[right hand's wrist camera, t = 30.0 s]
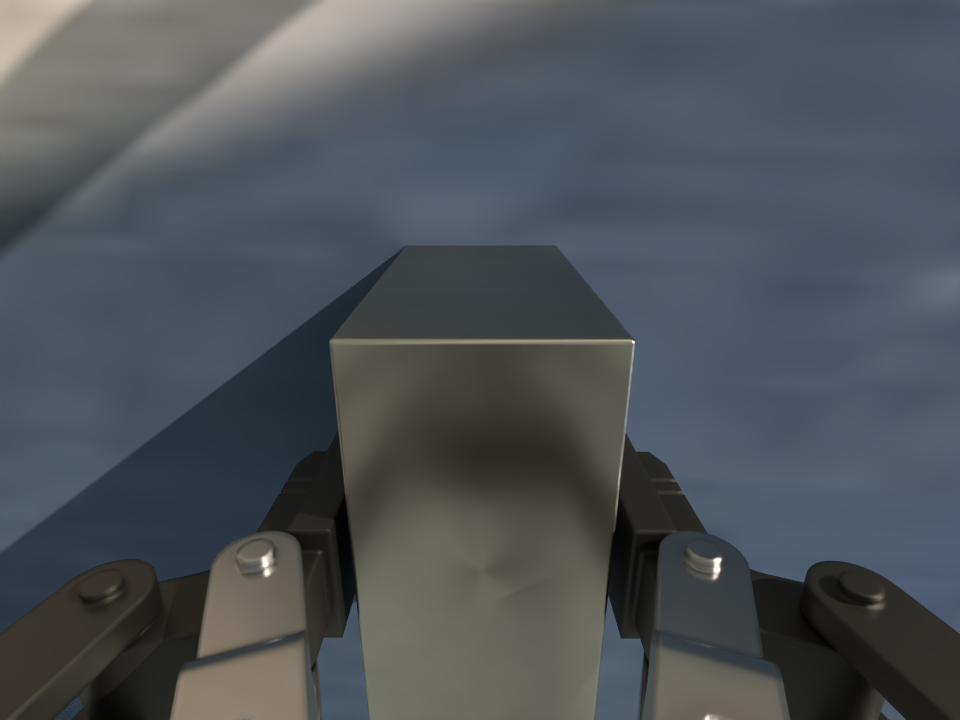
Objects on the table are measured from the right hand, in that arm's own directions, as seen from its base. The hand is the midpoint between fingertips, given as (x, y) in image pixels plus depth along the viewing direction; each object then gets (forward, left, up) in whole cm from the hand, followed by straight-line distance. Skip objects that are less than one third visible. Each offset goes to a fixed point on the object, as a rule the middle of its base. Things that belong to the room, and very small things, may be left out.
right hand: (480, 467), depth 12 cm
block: (0, 0, -5) cm, 5 cm away
